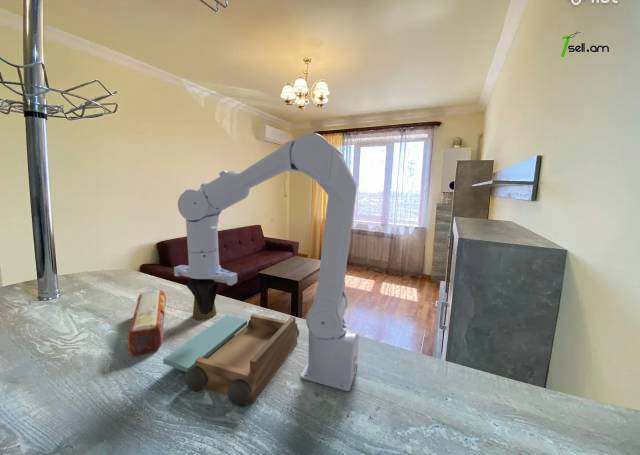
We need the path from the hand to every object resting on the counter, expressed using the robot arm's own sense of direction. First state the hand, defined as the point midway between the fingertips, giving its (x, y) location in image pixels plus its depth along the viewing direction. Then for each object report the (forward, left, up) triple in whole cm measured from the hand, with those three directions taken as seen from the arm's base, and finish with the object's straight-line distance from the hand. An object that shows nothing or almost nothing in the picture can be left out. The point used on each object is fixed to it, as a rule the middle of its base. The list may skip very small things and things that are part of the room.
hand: (206, 311), depth 56 cm
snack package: (+19, -1, -9) cm, 21 cm away
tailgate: (-4, 0, -7) cm, 8 cm away
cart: (-10, 0, -9) cm, 14 cm away
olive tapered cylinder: (+12, -12, -9) cm, 19 cm away
